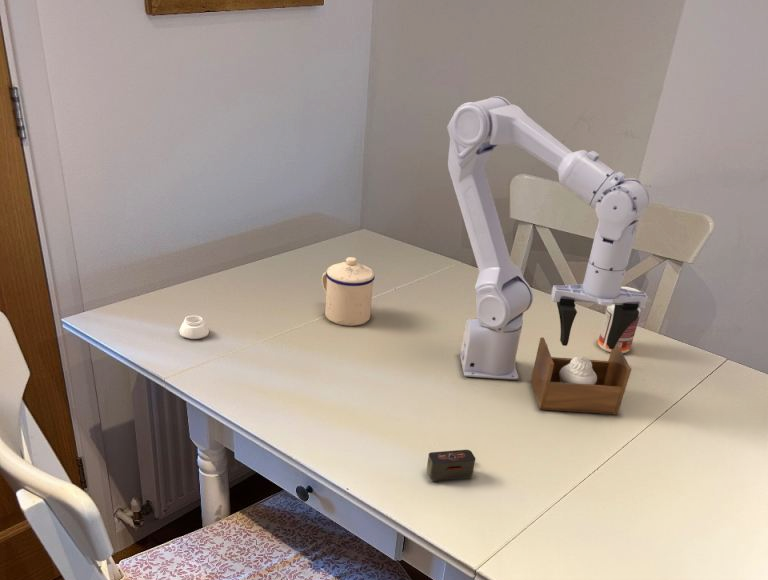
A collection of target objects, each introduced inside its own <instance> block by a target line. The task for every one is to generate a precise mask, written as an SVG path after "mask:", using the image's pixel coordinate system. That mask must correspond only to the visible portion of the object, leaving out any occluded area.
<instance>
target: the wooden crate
mask: <svg viewBox="0 0 768 580" xmlns="http://www.w3.org/2000/svg"><path fill="white" fill-rule="evenodd" d="M572 359H573V357H572V358H570V357H557V356H552V355H551V352H550V350H549V347H548V345H547V342H546V339H545V337H540V338H539V341H538V347H537V351H536V356H535V361H534V364H533V369H532V373H531V378H530V384H531V387H532V389H533V392H534V397H535V399H536V402H537V405H538V408H539V410H543V411H555V412H557V411H558V412H559V411H560V412H572V413H573V412H574V413H587V414H603V415H618V414H619V411H620V409H621V405H622V402H623V399H624V395H625V393H626V389H627V385H628V383H629V380H630V375H631V373H632V368H631V366H630V364H629V363H628V361H627V359H626V357H625V355H624V353H622V351H621V350H620V348H619V346H618V344H616V346H615V347H614V349H612V350H611V352H609V357H608V360H598V359H589V360H590V361H591V363H592V369H593V371H594V372H595V373H596V375H597V382H596V383H595V384H594V385H589V384H575V383H560V376H559V372H560V370H561V369H562V368H563V367H564V366H566V365H568V364H569V363H570V362H571V360H572Z"/></svg>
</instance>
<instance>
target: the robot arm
mask: <svg viewBox="0 0 768 580" xmlns="http://www.w3.org/2000/svg"><path fill="white" fill-rule="evenodd" d="M446 129H447V132H448V136H449V146H448V156H447V157H448V158H447V167H448V168H447V169H448V172H449V176H450V179H451V182H452V185H453V189H454V192H455V195H456V199H457V203H458V205H459V208H460V212H461V216H462V218H463V222H464V226H465V229H466V232H467V235H468V239H469V242H470V245H471V249H472V251H473V256H474V259H475V262H476V266H477V270H478V275H477V279H476V282H475V285H474V292H475V297H476V304H475V313H476V315H477V318H469V319H467V320H466V322H465V327H464V330H463V331H464V332H463V338H462V343H461V351H460V354H459V356H460V357H459V359H460V363H461V367H462V372H463V376H465V377H470V378H482V379H495V380H496V379H497V380H512V381H514V380H515V381H517V380H519V374H518V371H517V368H516V365H515V362H516V358H517V353H518V348H519V343H520V338H521V334H522V330H523V329H522V328H523V323H524V319H523V317H524V313H525V312H527V311H528V310H530V308H531V306H532V304H533V302H534V293H533V289H532V287H531V286H530V284H529V283H528V282H527V281H526V279H525V277H524V276H523V275H524V274H523V272H522V269H521V268H520V267H519V266H517V264H515V263H513V262H512V260H511V256H510V253H509V249H508V246H507V242H506V239H505V235H504V232H503V228H502V226H501V222H500V218H499V214H498V211H497V207H496V204H495V200H494V197H493V194H492V190H491V187H490V183H489V179H488V175H487V172H486V168H485V167H486V164H487V162H488V161H489V159H490V157H491V156H492V154H493V151H494V150H495V148H496V147H497V146H498V145H515V146H517V147H518V148H519V149H521V150H523V151H525V152H526V153H528V154H529V155H531V156H532V157H534V158H535V159H537V160H539V161H540V162H541V163H543V164H545V165H546V166H548V167H550V168H551V169H552V170H554V171H555V172H557V176H558V182H559V184H560V186H562V187H563V188H564V189H566V190H567V191H569V192H570V193H571V194H573V195H574V196H576V198H578V199H580V200H581V201H583V202H584V203H585V204H587V205H588V206H590V207H591V208H592V209H593V210H595V214H596V217H597V219H598V224H597V227H596V230H595V234H594V237H593V242H592V246H591V250H590V254H589V259H588V262H587V265H586V269H585V273H584V278H583V282H582V283H580V284H579V283H578V284H566V285H563V284H562V285H555V284H553V286H552V290H551V293H550V298H551V300H552V302H554V303H556V306H557V310H558V316H559V325H560V337H559V341H560V344H561V345H562V346H563V347H566V346H568V344H569V340H570V335H571V330H572V327H573V323H574V320H575V318H576V315H577V314H578V311H577V309H576V303H588V304H598V305H600V306H603V307H604V306H605V307H607V306H612V304H614V305H615V308H614V314H613V320H612V324H611V328H610V331H609V334H608V338H607V345H608V347H609V349H614V347H615V346H616V344H617V342H618V340H619V339H620V337H621V336H622V334H623V333H624V331H625V330H626V329H627V328H628V327H629V326H630V325H631V324H632V323H633V322H634V321H635V320H636V319H637V318H638V315H639V311H638V308H640V309H646V306H647V302H648V299H649V297H648V295H647V293H645V291H640V292H638V291H632V290H627V289H622V288H621V287H623V283H624V280H625V275H626V271H627V268H628V265H629V261H630V257H631V254H632V250H633V246H634V242H635V240H636V233H637V229H638V226H639V223H640V221H639V219H638V218H640V217H641V216H643V214H644V213H645V212H646V211H647V209H648V207H649V203H650V194H649V191H648V189H647V187H646V186H645V185H644V184H643V183H642V182H641V180H640V179H637V178H631V177H630V178H626V174H625V173H623V172H622V171H618V172H617V171H615V170H614V169H613V168H611V167H609V166H608V165H607V164H605V163H604V162H603V161H601V160H600V159H599V158H600V154H599V153H598V152H596V151H594V150H591V151H589V152H588V151H587V150H586V149H580V150H577V151H572V150H571V149H569V148H568V147H567V146H565V144H563V143H562V142H561V141H560V140H558V139H557V138H555V136H553V135H552V134H551V133H550V132H548V131H547V130H546V129H544V128H543V127H542V126H541V125H539V123H537V122H536V121H535V120H533V119H532V118H531V117H530V116H529V115H527V114H526V113H525V111H524V110H523V109H522V108H521V107H520V106H518V105H516V104H513V103H512V104H511V102H510V101H509V100H508V99H507V98H505V97H503V96H499V95H495V96H491V97H488V98H485V99H482V100H477V101H467V102H465V103H462V104H460V106H458V107H457V108H456V110H455V111H454V113H453V115H452V117H451V119H450V121H448V124H447V126H446Z"/></svg>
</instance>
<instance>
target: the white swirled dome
mask: <svg viewBox="0 0 768 580" xmlns="http://www.w3.org/2000/svg"><path fill="white" fill-rule="evenodd" d="M590 360H591V359H589V358H587V357H584V356H576V357H572V360H571V362H570V363H569V364H568V365H566V366H564V367H563V368H562V369H561V370H560V372H559V376H560V383H575V384H589V385H594V384H595V383H596V382H597V375H596V373H595V372H594V371H593V369H592V363H591V361H590Z"/></svg>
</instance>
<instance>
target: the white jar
mask: <svg viewBox="0 0 768 580" xmlns="http://www.w3.org/2000/svg"><path fill="white" fill-rule="evenodd" d="M209 333H210V332H209V328H208V326H207V324H206V323H205V321H204V319H203V318H202V316H200V315H187V316H186V317H185V318H184V319H183V321H182V323H181V326H180V327H179V335H180V336H182V337H183V338H186V339H189V340H190V339H191V340H197V339H203V338H205V337H208V334H209Z"/></svg>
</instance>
